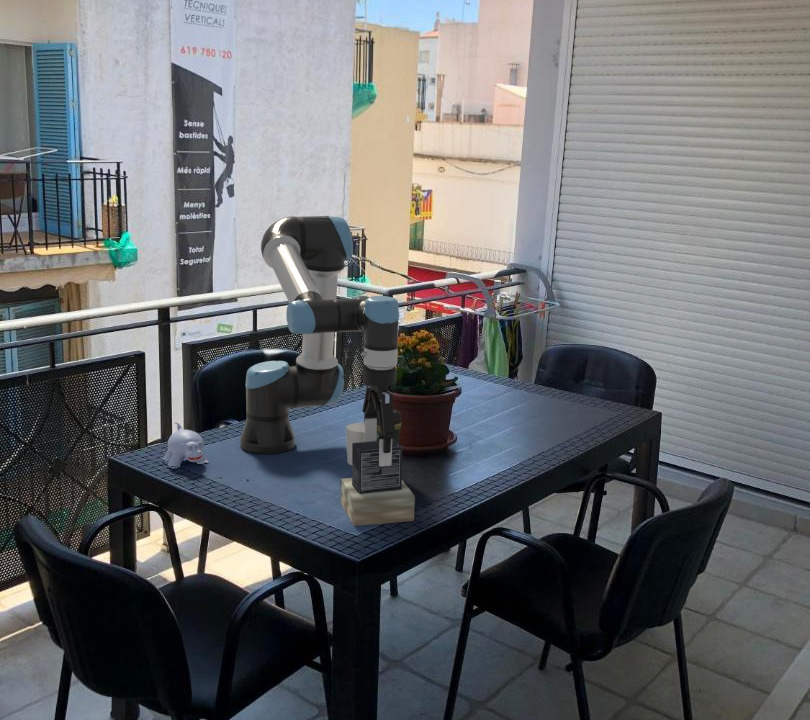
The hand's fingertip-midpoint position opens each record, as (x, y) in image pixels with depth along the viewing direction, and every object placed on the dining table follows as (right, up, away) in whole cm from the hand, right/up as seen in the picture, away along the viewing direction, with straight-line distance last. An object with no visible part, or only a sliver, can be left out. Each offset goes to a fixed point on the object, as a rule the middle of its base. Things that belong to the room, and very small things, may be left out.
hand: (377, 455), depth 214 cm
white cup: (-6, -6, +35) cm, 36 cm away
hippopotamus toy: (-51, -6, +30) cm, 59 cm away
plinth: (0, -14, +3) cm, 14 cm away
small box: (0, -8, +2) cm, 8 cm away
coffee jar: (0, -8, +25) cm, 27 cm away
